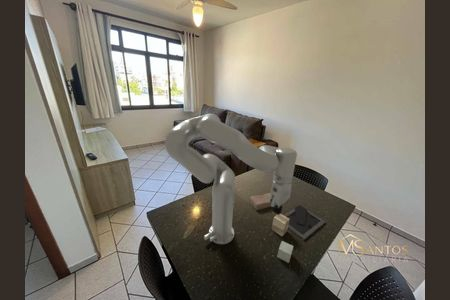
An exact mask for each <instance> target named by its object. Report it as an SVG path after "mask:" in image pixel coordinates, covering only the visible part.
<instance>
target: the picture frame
mask: <svg viewBox="0 0 450 300" xmlns="http://www.w3.org/2000/svg"><path fill="white" fill-rule="evenodd" d="M283 215H284V216H285V217H287V218H289V219H290V220H289V224H288V229H287V230H289V231H291V232H292V233H293V234H295V235H296V236H297V237H298V238H300V239H301V240H302V241H305V240H306V239H308V237H310V236H311V235H313V233H315V232H316V231H317V230H319V229H320V228H321V227H322V226H323V225H325V224H326V222H327V221H325V220H324V219H322V218H321V217H319V216H318V215H315V214H314V213H312V211H309V210H308V209H307V208H306V207H304V206H303V205H301V204H298V205H297V206H295V207H294V208H293V209H291V210H289V211H288V212H286V213H284V214H283Z"/></svg>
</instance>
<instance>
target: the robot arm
mask: <svg viewBox="0 0 450 300" xmlns="http://www.w3.org/2000/svg"><path fill="white" fill-rule="evenodd" d="M197 137H202V138H203V139H205V140H207V141H209V142H211V143H213V144H215V145H217V146H220V147H222V148H223V149H226V150H228V151H229V152H231V153H232V154H233V155H234V156H236V157H237V158H238V159H239V160H240V161H242V162H244V163H245V164H246V165H247V166H249V167H251V168H253V169H254V170H255V169H256V170H257V171H260V172H262V173H266V174H267V173H268V174H271V173H273V175H272V186H271V188H270V192H269V193H270V202H271V201H272V203H271V208H273V209H272V212H273V213H274V214H276V215H277V214H278V215H279V214H282V209H283V205H284V203H286V202H288V200H289V199H290V197H291V192H292V181H293V176H294V172H295V168H296V167H295V166H296V163H297V162H296V161H297V154H298V153H297V151H296V150H295V149H293V148H290V147H277V146H272V145H267V144H266V145H260V146H259V147H257V146H256V145H254V144H253V143H252V142H251V141H249V140H248V139H247V137H246V136H245V135H244V133H242V132H241V131H240V130H238V129H236V128H234V127H232V126H229V125H227V124H226V123H224V122H222V121H221V119H220V118H219V116H218V115H217V114H216V113H215V114H214V113H207V114H203V115H200V116H196V117H192V118H188V119H186V120H183V121H181V122H179V123H178V124H176V125H175V126H173V127H172V128H171V129H170V130H168V132H167V134H166V137H165V139H164V140H165V141H164V146H165V150H166V153H167V154H168V155H169V157H171V158H172V159H173V160H174V161H176V162H177V163H178V164H180V166H182V167H183V168H185V169H186V171H188V172H189V173H190V174H191V175H192V176H193V177H195V178H196V179H198V181H200V182H201V183H204V184H210V183H213V185H212V188H211V197H212V199H211V200H212V211H211V213H212V214H211V215H212V216H211V218H212V219H211V226H210V228H209V229H208V233H207V234H205V235H203V239H204V240H205V241H207V240H208V239H209V241H210V242H212V243H215V244H217V245H226V244H229V243H230V242H232V240H233V239H234V238H235V229H234V228H233V213H234V201H235V190H236V188H235V187H236V175H235V173H234V171H233V170H232V169H231V168H230V167H229V166H228V165H227V164H226V163H225V162H224V161H222V160H221V159H220V158H219V157H218V156H217V155H215V154H212V153H204V154H203V155H202V154H201V153H200V152H199V151H198V150H196V149H194V148H193V147H191V146H189V144H190V142H191V141H192V140H193V139H194V138H197Z"/></svg>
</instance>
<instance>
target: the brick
mask: <svg viewBox="0 0 450 300" xmlns="http://www.w3.org/2000/svg"><path fill="white" fill-rule="evenodd" d="M270 193H271V192H267V193H264V194H260V195H251V196H249V197H250V198H249V202H250V204H251V206H252V207H253V208H254V209H255V210H257V211H258V210H263V209H266V208H270V207H271V208H272V206H271V203H272V201H271V202H270Z"/></svg>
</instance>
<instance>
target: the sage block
mask: <svg viewBox="0 0 450 300" xmlns="http://www.w3.org/2000/svg"><path fill="white" fill-rule="evenodd" d="M293 249H294V245H293V244H289V243H288V242H286V241H283V240H281V242H280V245H279V248H278V251H277V256H276V258H279V260H282V261H284V262H286V263H288V264H290V260H291V257H292V254H293Z"/></svg>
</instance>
